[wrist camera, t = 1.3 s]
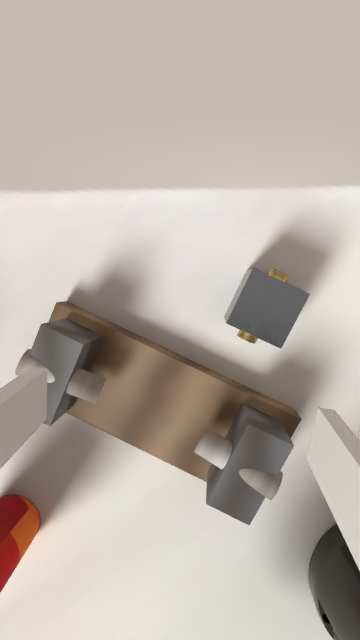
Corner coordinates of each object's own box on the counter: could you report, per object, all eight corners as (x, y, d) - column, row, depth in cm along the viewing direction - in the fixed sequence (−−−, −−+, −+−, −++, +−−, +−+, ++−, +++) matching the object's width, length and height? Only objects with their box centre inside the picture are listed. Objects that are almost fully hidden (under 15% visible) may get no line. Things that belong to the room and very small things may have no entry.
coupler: (250, 263, 30) (257, 258, 25) (297, 284, 30) (314, 284, 25) (220, 323, 31) (222, 331, 26) (266, 345, 31) (276, 357, 26)
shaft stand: (295, 410, 31) (320, 448, 24) (251, 491, 33) (261, 549, 25) (65, 301, 32) (24, 306, 25) (33, 384, 34) (-15, 411, 27)
